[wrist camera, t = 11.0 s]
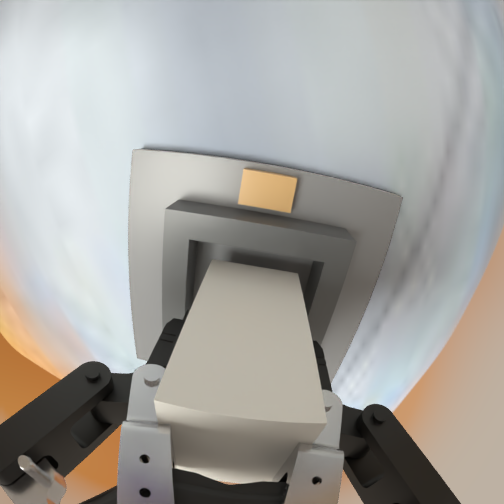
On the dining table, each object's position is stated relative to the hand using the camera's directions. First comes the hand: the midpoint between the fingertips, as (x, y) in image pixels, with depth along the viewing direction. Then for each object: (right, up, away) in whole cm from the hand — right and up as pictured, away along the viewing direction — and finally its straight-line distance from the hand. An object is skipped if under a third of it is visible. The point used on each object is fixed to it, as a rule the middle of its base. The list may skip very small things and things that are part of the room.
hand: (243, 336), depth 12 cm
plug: (0, +1, +2) cm, 2 cm away
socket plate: (0, +2, +4) cm, 5 cm away
